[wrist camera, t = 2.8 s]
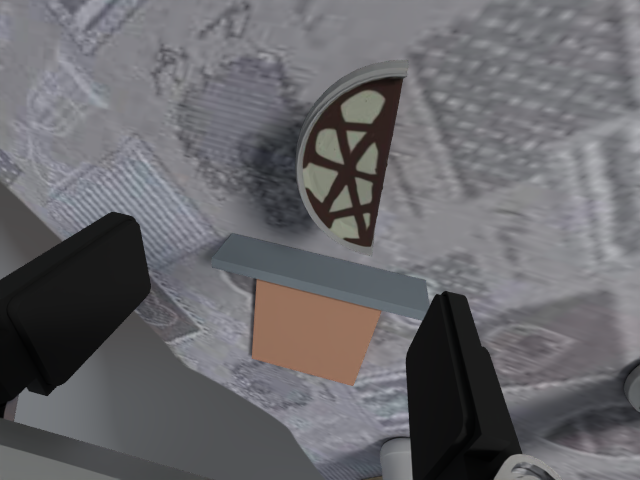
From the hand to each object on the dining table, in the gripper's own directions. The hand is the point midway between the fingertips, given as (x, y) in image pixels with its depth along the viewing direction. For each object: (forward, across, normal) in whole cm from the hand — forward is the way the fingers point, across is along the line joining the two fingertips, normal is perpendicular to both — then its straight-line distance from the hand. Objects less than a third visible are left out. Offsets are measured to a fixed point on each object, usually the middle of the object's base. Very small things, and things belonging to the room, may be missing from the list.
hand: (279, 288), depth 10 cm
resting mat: (+21, 0, +26) cm, 34 cm away
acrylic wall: (+21, 0, +14) cm, 25 cm away
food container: (+21, 0, 0) cm, 21 cm away
